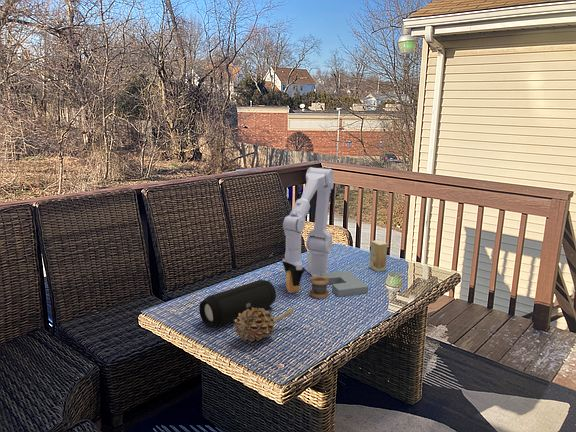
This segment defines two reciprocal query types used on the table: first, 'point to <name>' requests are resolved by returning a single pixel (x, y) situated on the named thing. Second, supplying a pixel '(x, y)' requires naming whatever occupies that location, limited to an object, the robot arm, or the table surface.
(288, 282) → the orange rectangular block
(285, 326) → the table surface
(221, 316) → the portable speaker
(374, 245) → the skincare box
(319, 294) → the bobbin post
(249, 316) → the brown knobbly handled piece
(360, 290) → the notched board
